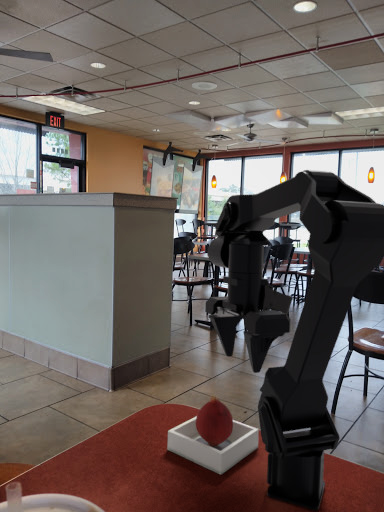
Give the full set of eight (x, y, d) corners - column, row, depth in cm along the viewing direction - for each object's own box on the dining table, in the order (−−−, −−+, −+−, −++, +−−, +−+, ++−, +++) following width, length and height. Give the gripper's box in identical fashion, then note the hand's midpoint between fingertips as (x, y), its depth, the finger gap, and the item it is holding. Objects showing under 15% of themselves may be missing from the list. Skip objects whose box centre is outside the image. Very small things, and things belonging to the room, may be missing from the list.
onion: (232, 438, 69) (233, 390, 68) (232, 456, 63) (234, 404, 63) (196, 435, 69) (197, 388, 69) (193, 454, 63) (195, 402, 63)
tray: (257, 447, 67) (258, 429, 67) (221, 474, 59) (221, 454, 59) (206, 427, 73) (207, 410, 73) (167, 449, 66) (167, 430, 65)
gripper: (321, 277, 65) (316, 376, 66) (257, 266, 82) (254, 345, 83) (259, 278, 60) (255, 384, 61) (205, 267, 78) (202, 350, 78)
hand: (242, 363), depth 71 cm, fingers open, 9 cm apart
